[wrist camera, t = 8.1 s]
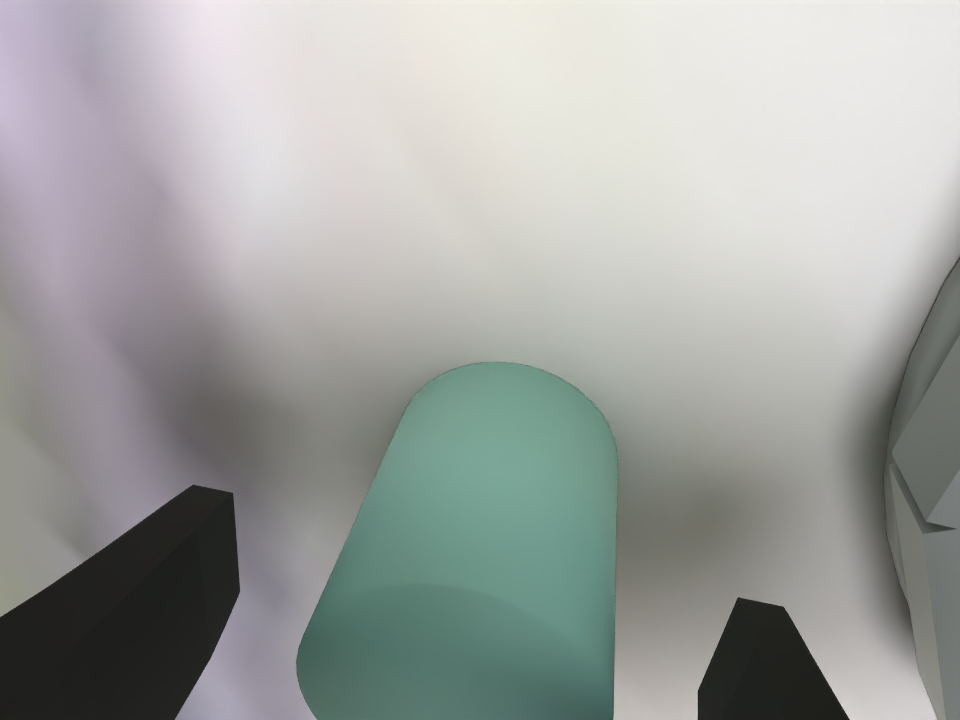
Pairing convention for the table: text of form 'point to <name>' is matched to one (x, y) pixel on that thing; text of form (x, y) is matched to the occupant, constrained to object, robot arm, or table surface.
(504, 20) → the table surface
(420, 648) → the teal cylinder
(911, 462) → the ring tray
